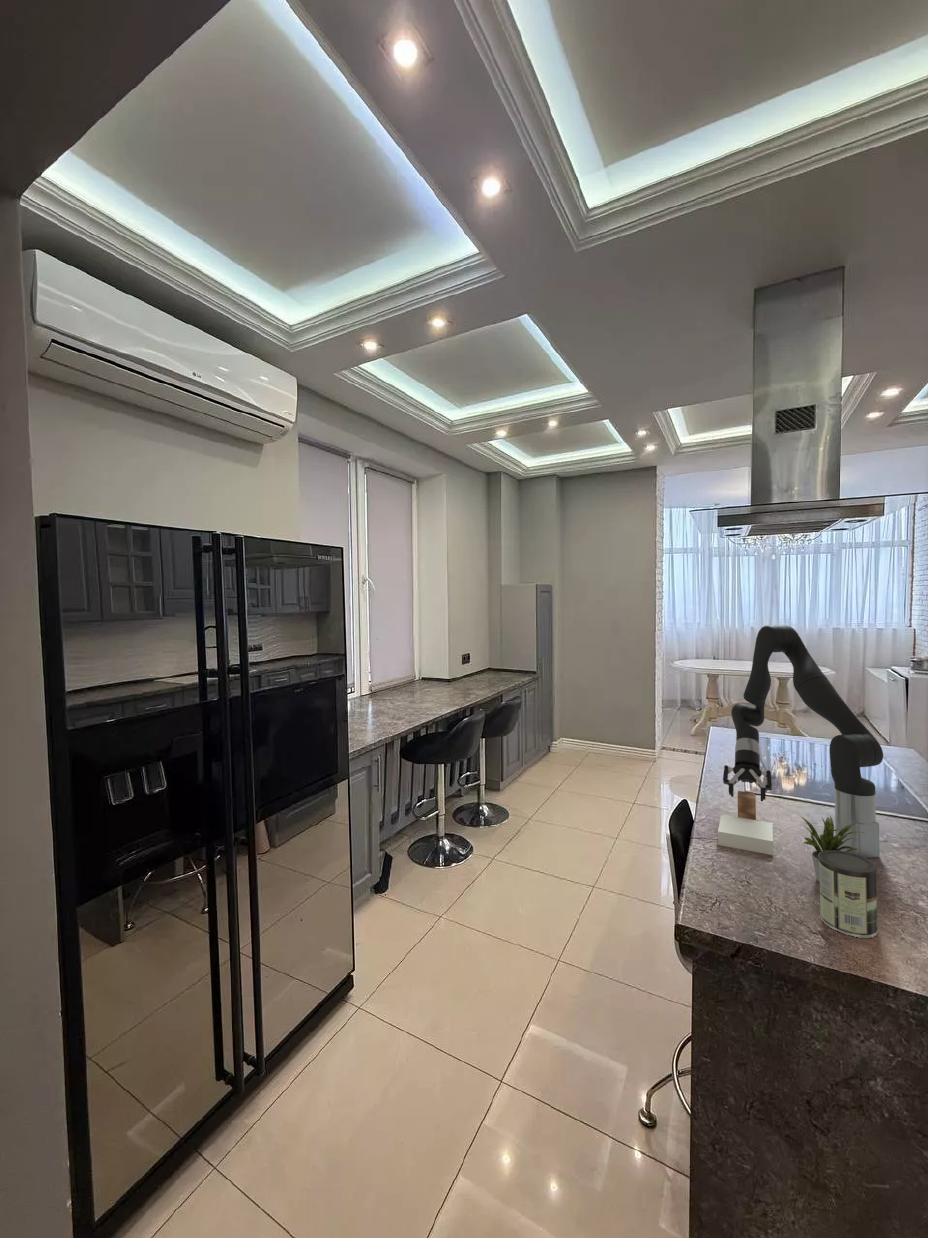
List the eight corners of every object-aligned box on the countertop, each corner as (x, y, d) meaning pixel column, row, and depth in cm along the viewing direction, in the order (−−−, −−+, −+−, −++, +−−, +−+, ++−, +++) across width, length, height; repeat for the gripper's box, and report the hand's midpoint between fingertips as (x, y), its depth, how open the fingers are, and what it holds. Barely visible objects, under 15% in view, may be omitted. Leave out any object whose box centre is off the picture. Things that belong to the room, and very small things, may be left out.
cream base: (772, 835, 154) (772, 822, 154) (773, 855, 142) (773, 841, 142) (721, 827, 161) (721, 814, 161) (718, 844, 149) (717, 831, 149)
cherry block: (756, 822, 164) (755, 793, 164) (755, 828, 160) (755, 798, 160) (738, 819, 167) (738, 790, 167) (738, 825, 163) (737, 795, 163)
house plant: (882, 902, 119) (881, 833, 118) (816, 897, 121) (815, 830, 121) (849, 871, 133) (848, 810, 132) (791, 867, 135) (790, 807, 135)
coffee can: (853, 909, 116) (852, 849, 116) (890, 938, 106) (889, 872, 106) (808, 910, 116) (807, 849, 116) (840, 939, 106) (839, 873, 106)
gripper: (723, 746, 176) (721, 789, 167) (771, 751, 169) (772, 796, 159) (724, 757, 181) (723, 799, 171) (771, 762, 174) (772, 807, 164)
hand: (746, 798), depth 165 cm, fingers open, 8 cm apart
